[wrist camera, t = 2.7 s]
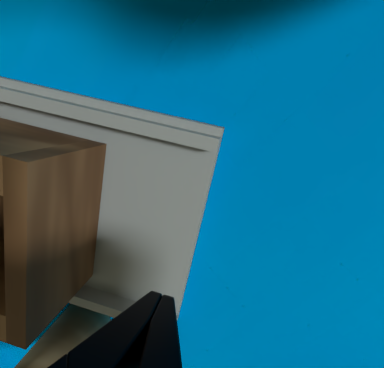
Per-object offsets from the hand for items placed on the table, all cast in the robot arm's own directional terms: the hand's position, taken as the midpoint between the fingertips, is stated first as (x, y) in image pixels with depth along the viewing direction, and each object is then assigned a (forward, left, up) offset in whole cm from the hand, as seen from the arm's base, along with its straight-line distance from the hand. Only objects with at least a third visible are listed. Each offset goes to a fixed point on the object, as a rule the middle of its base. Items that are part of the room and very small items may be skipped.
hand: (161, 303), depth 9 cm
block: (+9, 0, -5) cm, 10 cm away
